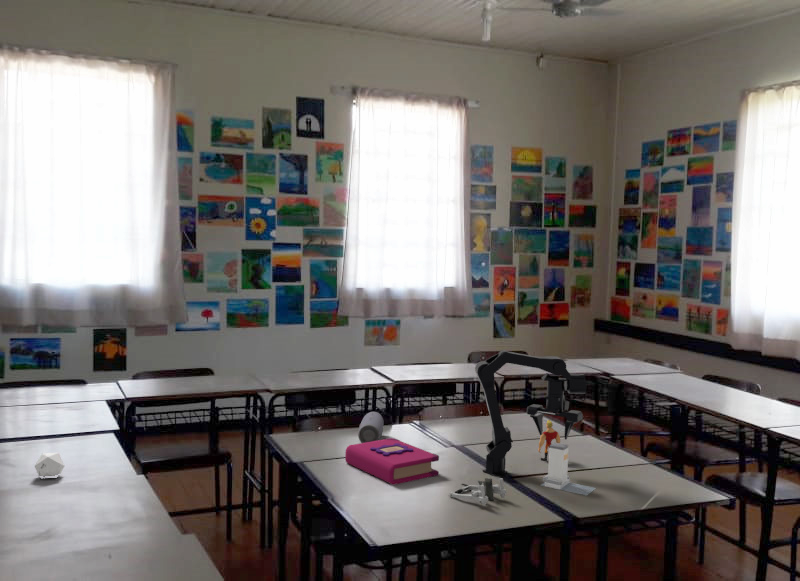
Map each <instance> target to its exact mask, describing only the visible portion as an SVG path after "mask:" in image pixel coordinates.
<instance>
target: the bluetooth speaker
mask: <svg viewBox="0 0 800 581" xmlns="http://www.w3.org/2000/svg"><path fill="white" fill-rule="evenodd" d="M384 424H385V423H384V418H383V416H382V415H381V414H380V413H379V412H377V411H370V412H367V413H366V414H365V415H364V416H363V418H362V420H361V423H360V424H359V427H358V432H357V436H358V439H359V442H360V443H366V442H372V441H378V440H381V437H382V435H383V432H384Z"/></svg>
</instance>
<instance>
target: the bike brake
mask: <svg viewBox="0 0 800 581" xmlns="http://www.w3.org/2000/svg"><path fill="white" fill-rule="evenodd" d="M460 485H461V486H464V487H461V488H459V489H457V490H456V491H450V492H449V495H448V497H450V498H456V499H463V500H464V499H465V500H474V501H479V503H481V504H482V506H485V505H486V506H487V503H488V501H492V502H493V501H495V498H494V496H495V495H494V494H497V495H500V497H501V498H505V496H506V494H507V489H505V488H504V487H505V486H504V478H499V484H497V483H496V484H493V479H492V478H484V481H483V480H477V485H473V484H469V485H468V484H466V483H461V484H460ZM468 491H470V493H471V494H464V493H465V492H468ZM462 493H463V494H462Z"/></svg>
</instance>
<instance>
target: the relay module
mask: <svg viewBox="0 0 800 581" xmlns="http://www.w3.org/2000/svg"><path fill="white" fill-rule="evenodd" d="M568 466H569V445H568V444H565V443H561V442H560V443H556V442H553V443H551V445H550V448H549V447H548V466H547V468H548V470H547V475H548V479H551V480H556V481H561V484H563V483H564V482H565V481H567V476H568V468H569V467H568Z"/></svg>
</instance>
